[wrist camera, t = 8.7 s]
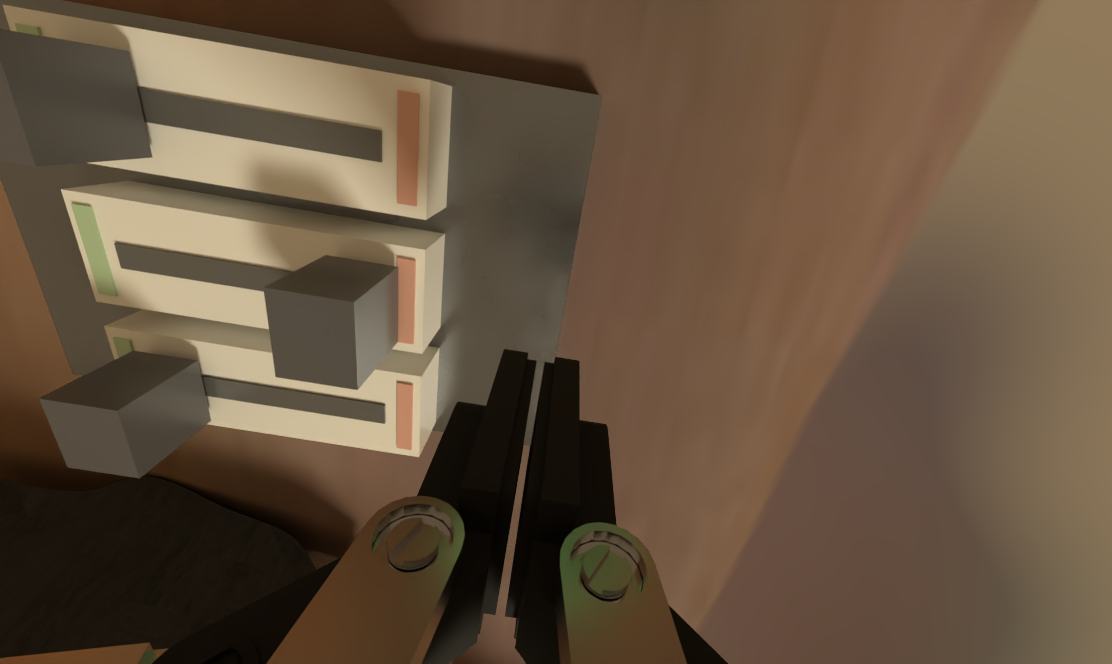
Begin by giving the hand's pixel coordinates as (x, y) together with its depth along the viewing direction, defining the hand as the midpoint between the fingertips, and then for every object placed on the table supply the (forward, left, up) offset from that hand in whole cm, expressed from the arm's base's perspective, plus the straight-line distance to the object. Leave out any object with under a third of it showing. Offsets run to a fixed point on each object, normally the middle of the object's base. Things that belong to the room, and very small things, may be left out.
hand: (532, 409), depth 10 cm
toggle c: (+4, +14, -6) cm, 16 cm away
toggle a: (-6, +14, -6) cm, 16 cm away
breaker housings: (-1, +10, -8) cm, 13 cm away
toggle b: (-1, +6, -6) cm, 8 cm away
